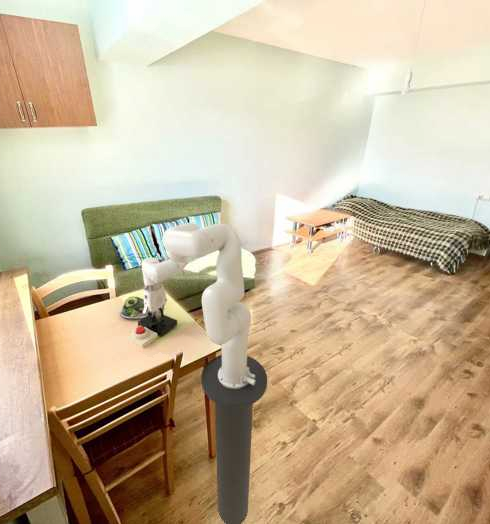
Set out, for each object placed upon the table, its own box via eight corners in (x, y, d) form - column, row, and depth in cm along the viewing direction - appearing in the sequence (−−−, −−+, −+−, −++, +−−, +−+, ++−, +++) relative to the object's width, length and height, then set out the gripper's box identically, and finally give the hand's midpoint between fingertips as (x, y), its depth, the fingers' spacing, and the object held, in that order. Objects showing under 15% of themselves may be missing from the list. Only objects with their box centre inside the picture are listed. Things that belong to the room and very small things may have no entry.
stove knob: (157, 317, 134) (156, 307, 132) (163, 320, 132) (162, 310, 130) (150, 321, 131) (149, 312, 129) (157, 324, 128) (156, 315, 126)
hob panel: (177, 324, 133) (177, 319, 132) (161, 336, 124) (160, 332, 123) (154, 315, 140) (154, 310, 139) (138, 326, 132) (137, 321, 131)
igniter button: (146, 331, 122) (146, 327, 122) (140, 335, 120) (140, 332, 119) (141, 328, 124) (140, 325, 123) (134, 332, 121) (134, 329, 121)
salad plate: (164, 300, 152) (163, 293, 149) (155, 321, 136) (154, 313, 134) (129, 299, 153) (128, 292, 150) (116, 320, 137) (115, 312, 135)
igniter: (158, 337, 124) (157, 330, 122) (142, 348, 117) (141, 341, 115) (140, 329, 129) (139, 322, 128) (125, 340, 122) (124, 332, 121)
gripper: (144, 295, 115) (149, 331, 123) (172, 279, 128) (175, 313, 136) (132, 290, 119) (137, 325, 126) (160, 276, 132) (163, 308, 139)
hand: (157, 319), depth 131 cm, fingers closed on stove knob, 4 cm apart
